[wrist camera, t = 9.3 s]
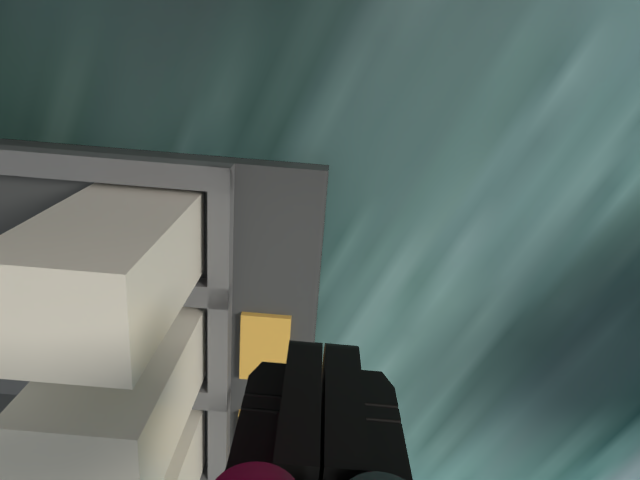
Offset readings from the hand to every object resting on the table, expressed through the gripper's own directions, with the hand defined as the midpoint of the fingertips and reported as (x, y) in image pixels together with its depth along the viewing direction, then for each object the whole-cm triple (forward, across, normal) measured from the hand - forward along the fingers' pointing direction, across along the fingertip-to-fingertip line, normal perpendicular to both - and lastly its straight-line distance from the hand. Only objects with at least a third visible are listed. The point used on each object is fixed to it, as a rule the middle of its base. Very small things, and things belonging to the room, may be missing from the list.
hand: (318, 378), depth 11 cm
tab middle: (+9, +6, +5) cm, 12 cm away
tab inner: (+9, +6, 0) cm, 11 cm away
